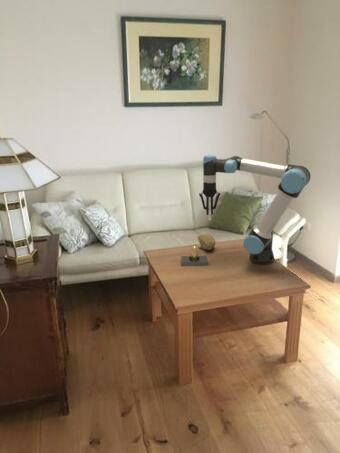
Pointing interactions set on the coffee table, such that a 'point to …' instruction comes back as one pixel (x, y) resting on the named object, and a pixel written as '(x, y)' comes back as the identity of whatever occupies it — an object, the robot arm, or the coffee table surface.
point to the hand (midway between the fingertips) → (209, 219)
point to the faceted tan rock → (206, 241)
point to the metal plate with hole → (187, 261)
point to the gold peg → (194, 252)
